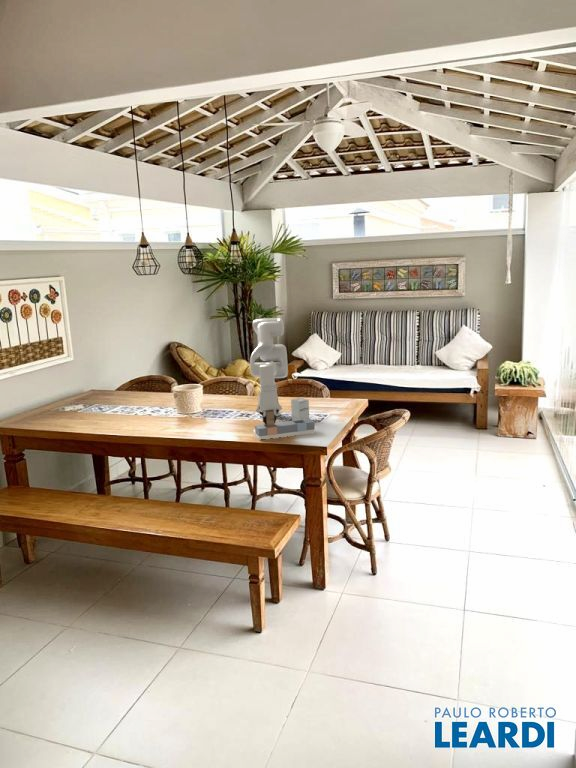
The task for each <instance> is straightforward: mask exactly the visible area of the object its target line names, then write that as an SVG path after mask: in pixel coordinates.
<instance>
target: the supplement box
mask: <svg viewBox="0 0 576 768" xmlns="http://www.w3.org/2000/svg"><path fill="white" fill-rule="evenodd" d="M309 403H310V400H309V399H308V398H303V397H299V398H294V399H291V400H290V406H291V407H290V408H291V421H293V420H301V419H310V406H309V405H310V404H309Z"/></svg>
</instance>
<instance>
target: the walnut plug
mask: <svg viewBox="0 0 576 768" xmlns="http://www.w3.org/2000/svg"><path fill="white" fill-rule="evenodd" d="M266 420H267V424H265V423H264V424H265V427H273V426H275V423H276V422H275V423H274V410H268V411H266Z"/></svg>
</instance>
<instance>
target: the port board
mask: <svg viewBox="0 0 576 768" xmlns="http://www.w3.org/2000/svg"><path fill="white" fill-rule="evenodd" d="M315 426H316V425H315V421H314V420H312V419H311V418H309V419H301V420H293V421H292V420H288V421H287V420H285V421H280V422H279V421H277V422H275V426H273V427H265V423H263V424H255V425H254V429H252V434H253V435H254V437H256V439H257V440H258V441H262V440H261V439H266V440H271V439H270V438H273V439H280V438H279V437H281V438H287V436H288V437H296V436H301V435H309V434H311V435H312V434H315V433H316V429H315V428H316V427H315ZM295 435H296V436H295Z"/></svg>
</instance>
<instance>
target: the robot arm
mask: <svg viewBox="0 0 576 768" xmlns="http://www.w3.org/2000/svg"><path fill="white" fill-rule="evenodd" d="M251 325H252V329H253V330H254V332H255V334H256V337H257V346H256V348H254V350H253V351H252V353H251V355H250V358H249V369H250V370H249V371H250V375H251V376H252V377H256V378H258V377H259V387H260V388H259V389H260V390H259V391H258V397H257V399H258V401H257V407H256V409H255V412H256V413H258V414H259V416H260V417H261V418H262V422H263V424H267V420H266V411H268V410H274V423H276V421H277V417H279V416H281V414H282V412H281V410H283V407H282V405H280V403H279V396H278V390H277V389H278V388H279V387H278V384H276V382H275V381H276V380H275V379H285V378H286V377H288V375H289V370H288V369H289V368H288V365H289V364H288V363H289V362H288V353H287V352H288V351H287V347H286V345H284V344H282V343H276V344H274V338H275V337H282V336H284V333H285V323H284V320H283V318H282V317H265V318H257V319H256V318H255V319H254V320H253V321H252V324H251ZM258 358H260V360H261V361H257V362H256V360H257V359H258ZM276 361H277V362H276Z"/></svg>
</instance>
